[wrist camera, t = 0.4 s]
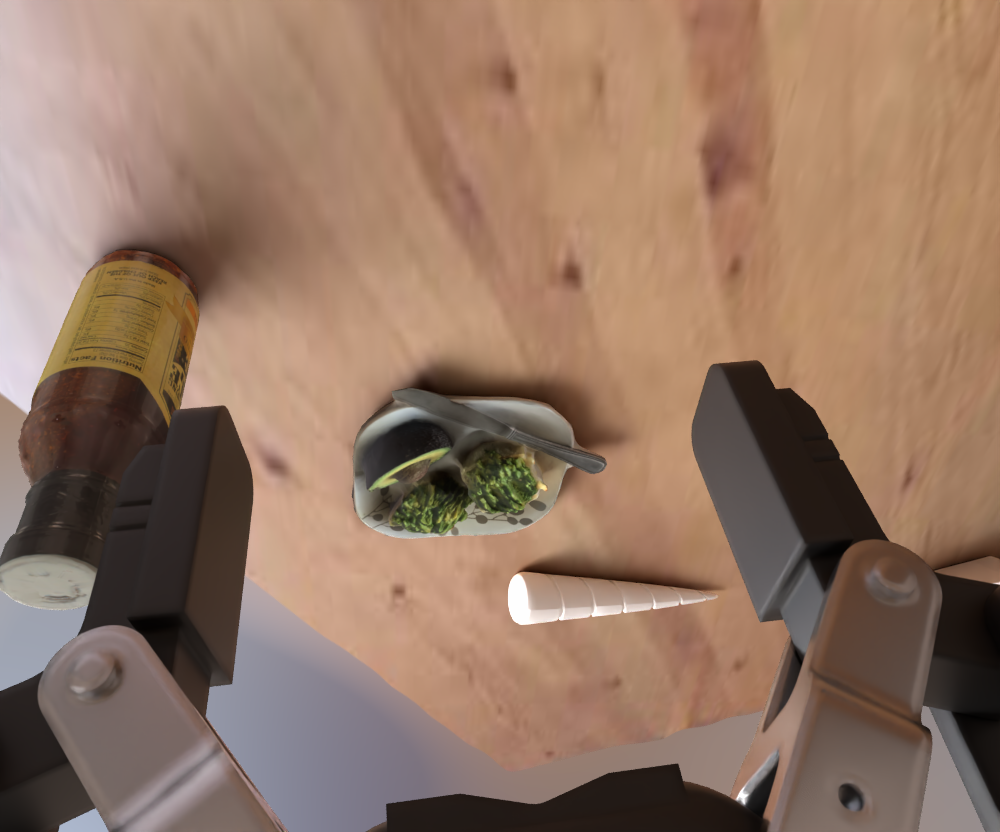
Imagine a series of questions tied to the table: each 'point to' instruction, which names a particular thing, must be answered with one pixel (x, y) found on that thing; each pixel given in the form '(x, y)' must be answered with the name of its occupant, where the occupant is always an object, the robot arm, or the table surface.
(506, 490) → the salad plate
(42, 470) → the sauce bottle
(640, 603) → the unicorn horn
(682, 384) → the table surface
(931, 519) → the table surface
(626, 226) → the table surface
